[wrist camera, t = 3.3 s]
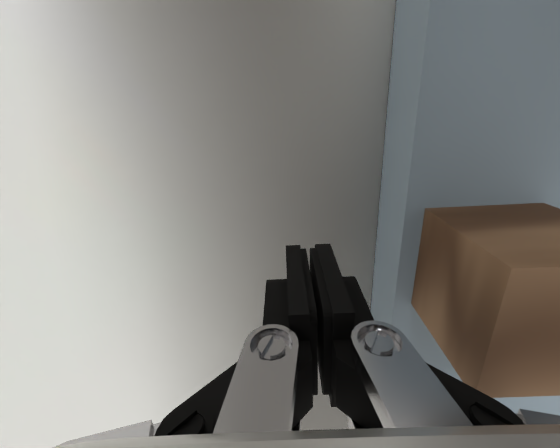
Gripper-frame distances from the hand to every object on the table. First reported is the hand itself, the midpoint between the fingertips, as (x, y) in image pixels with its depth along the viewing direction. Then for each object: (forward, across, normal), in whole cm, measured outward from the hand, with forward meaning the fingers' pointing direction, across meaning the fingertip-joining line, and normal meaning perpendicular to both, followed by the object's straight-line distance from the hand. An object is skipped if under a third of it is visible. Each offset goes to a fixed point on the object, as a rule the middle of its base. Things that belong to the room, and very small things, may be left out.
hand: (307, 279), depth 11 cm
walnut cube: (+1, -7, 0) cm, 7 cm away
